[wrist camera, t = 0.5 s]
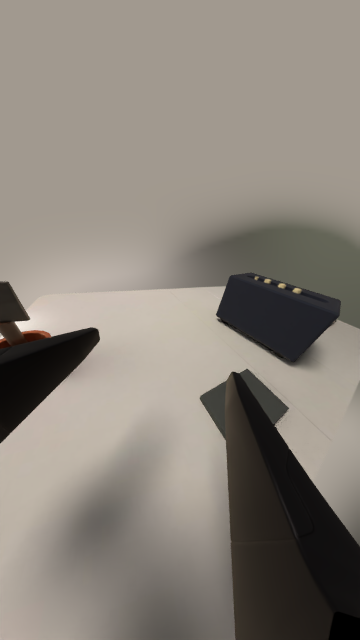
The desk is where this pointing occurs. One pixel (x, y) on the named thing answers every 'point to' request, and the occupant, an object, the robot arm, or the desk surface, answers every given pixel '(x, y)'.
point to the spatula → (11, 315)
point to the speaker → (277, 313)
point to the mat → (265, 397)
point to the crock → (27, 337)
